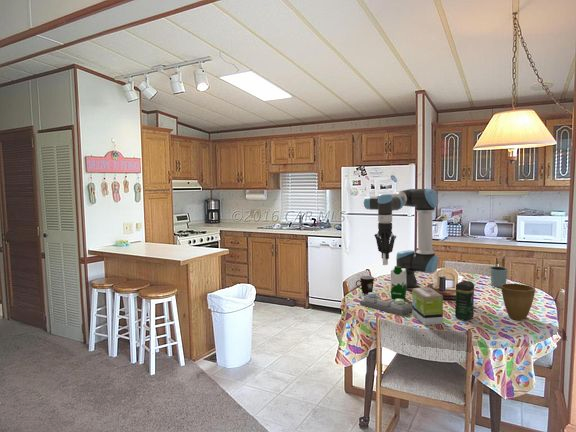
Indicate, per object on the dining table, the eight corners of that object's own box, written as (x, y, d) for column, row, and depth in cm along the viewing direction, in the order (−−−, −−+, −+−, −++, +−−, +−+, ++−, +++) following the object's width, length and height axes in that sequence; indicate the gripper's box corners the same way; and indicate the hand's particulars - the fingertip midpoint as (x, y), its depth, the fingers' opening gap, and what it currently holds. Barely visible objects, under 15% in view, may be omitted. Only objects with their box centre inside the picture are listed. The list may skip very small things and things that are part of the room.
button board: (412, 311, 213) (412, 302, 213) (402, 315, 207) (402, 307, 206) (370, 300, 234) (370, 292, 234) (359, 304, 228) (359, 296, 227)
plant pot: (540, 318, 197) (541, 287, 196) (524, 325, 189) (525, 292, 188) (509, 311, 210) (510, 281, 208) (494, 316, 202) (495, 286, 200)
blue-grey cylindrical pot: (507, 285, 259) (508, 267, 258) (506, 289, 250) (507, 270, 249) (490, 283, 264) (490, 265, 263) (488, 287, 256) (489, 268, 255)
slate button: (378, 297, 227) (378, 293, 227) (373, 299, 224) (373, 295, 223) (371, 296, 230) (371, 291, 230) (366, 297, 227) (366, 293, 227)
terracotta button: (391, 303, 220) (391, 299, 220) (386, 305, 217) (386, 300, 217) (384, 301, 224) (384, 297, 224) (379, 303, 221) (379, 299, 220)
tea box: (411, 315, 207) (411, 287, 206) (430, 314, 208) (430, 286, 207) (423, 325, 192) (423, 296, 191) (443, 324, 193) (443, 294, 192)
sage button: (405, 304, 213) (405, 299, 213) (400, 306, 210) (400, 301, 210) (398, 302, 217) (398, 298, 217) (393, 304, 214) (393, 300, 214)
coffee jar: (469, 321, 196) (469, 285, 194) (453, 318, 201) (453, 282, 200) (475, 316, 203) (476, 281, 201) (460, 313, 208) (460, 278, 207)
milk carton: (389, 300, 233) (389, 267, 232) (392, 296, 242) (392, 263, 240) (405, 301, 230) (405, 268, 228) (407, 297, 238) (407, 264, 236)
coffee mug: (373, 290, 254) (373, 275, 253) (374, 294, 245) (374, 279, 244) (355, 290, 255) (354, 275, 254) (355, 294, 246) (355, 279, 246)
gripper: (371, 222, 219) (371, 264, 221) (391, 223, 209) (391, 267, 211) (379, 221, 224) (379, 262, 226) (399, 222, 214) (399, 265, 216)
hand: (385, 264), depth 219 cm, fingers closed
